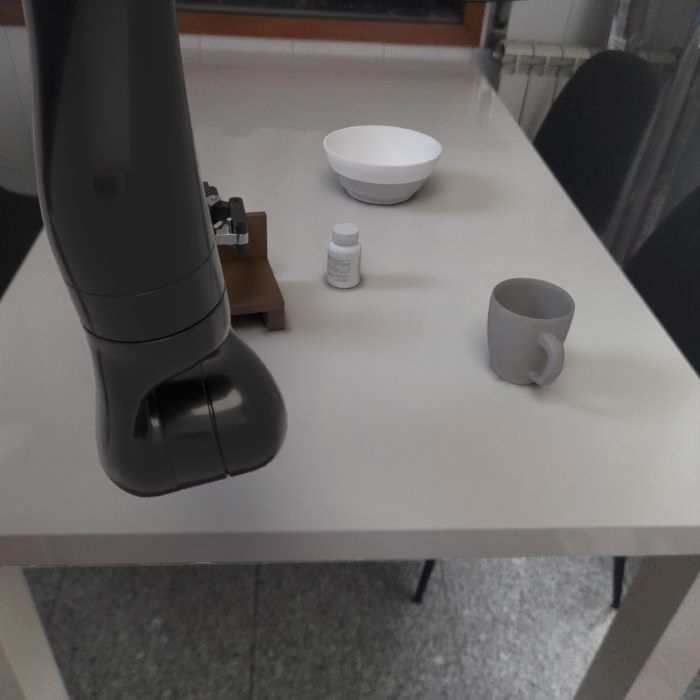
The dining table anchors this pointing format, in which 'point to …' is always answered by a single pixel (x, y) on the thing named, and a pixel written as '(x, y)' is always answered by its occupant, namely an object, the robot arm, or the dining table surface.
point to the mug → (528, 330)
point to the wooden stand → (252, 275)
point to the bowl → (381, 161)
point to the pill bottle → (344, 256)
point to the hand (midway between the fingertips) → (157, 193)
